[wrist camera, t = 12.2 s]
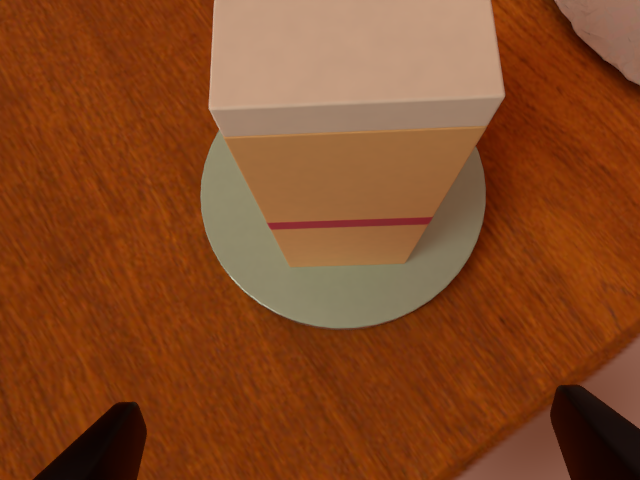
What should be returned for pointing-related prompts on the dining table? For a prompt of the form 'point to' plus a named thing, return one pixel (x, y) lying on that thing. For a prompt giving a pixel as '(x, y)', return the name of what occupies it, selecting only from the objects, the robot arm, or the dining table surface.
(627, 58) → the stone
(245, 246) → the plate
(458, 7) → the cake slice
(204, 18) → the dining table surface
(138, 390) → the dining table surface
